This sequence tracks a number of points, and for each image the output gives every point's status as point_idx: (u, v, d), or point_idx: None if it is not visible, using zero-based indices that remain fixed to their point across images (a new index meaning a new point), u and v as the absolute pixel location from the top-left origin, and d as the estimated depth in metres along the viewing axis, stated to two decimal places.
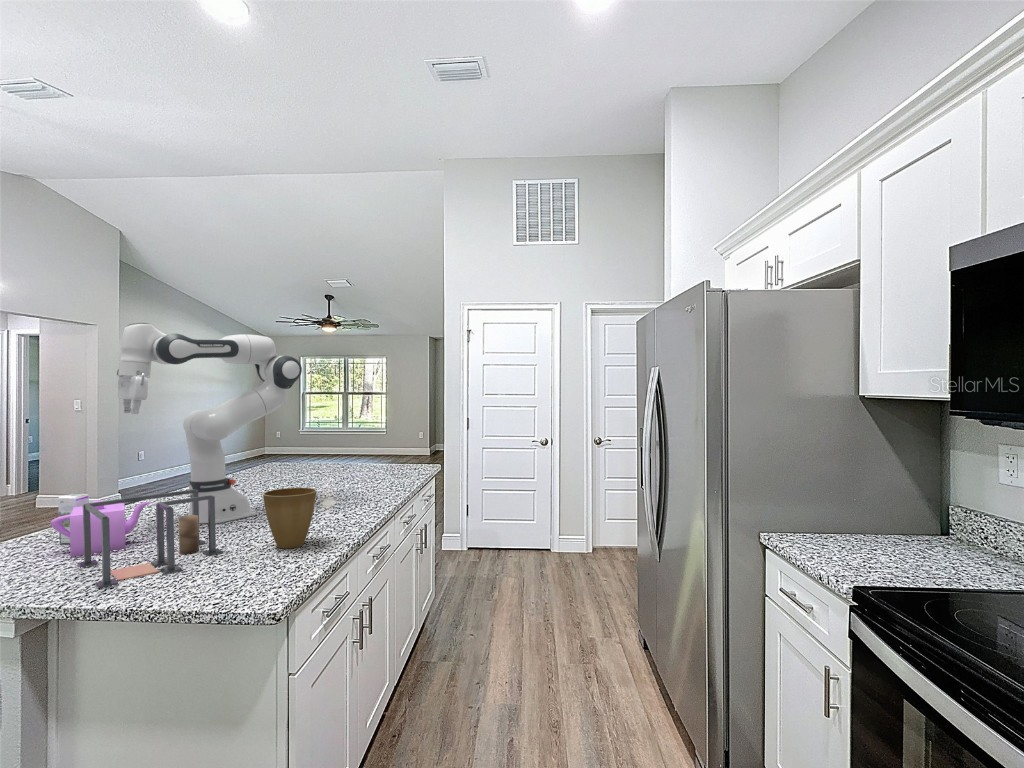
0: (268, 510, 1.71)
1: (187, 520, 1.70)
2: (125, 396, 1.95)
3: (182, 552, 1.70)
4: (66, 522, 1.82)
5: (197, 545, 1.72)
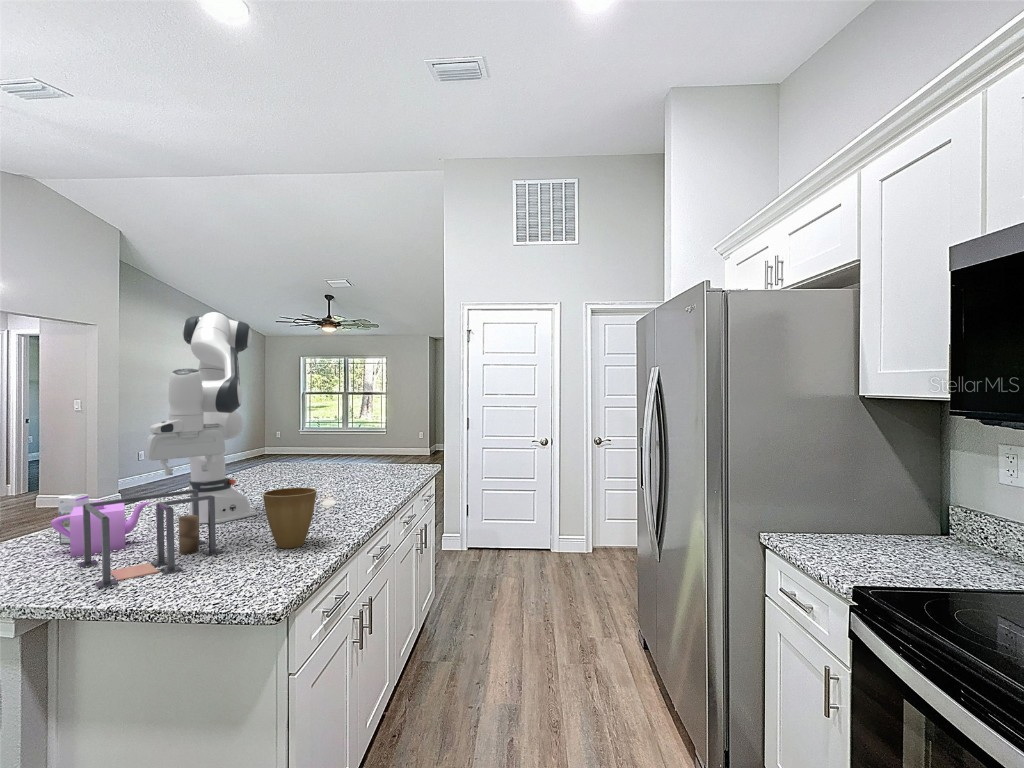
0: (268, 510, 1.71)
1: (187, 520, 1.70)
2: (187, 454, 1.70)
3: (182, 552, 1.70)
4: (66, 522, 1.82)
5: (197, 545, 1.72)
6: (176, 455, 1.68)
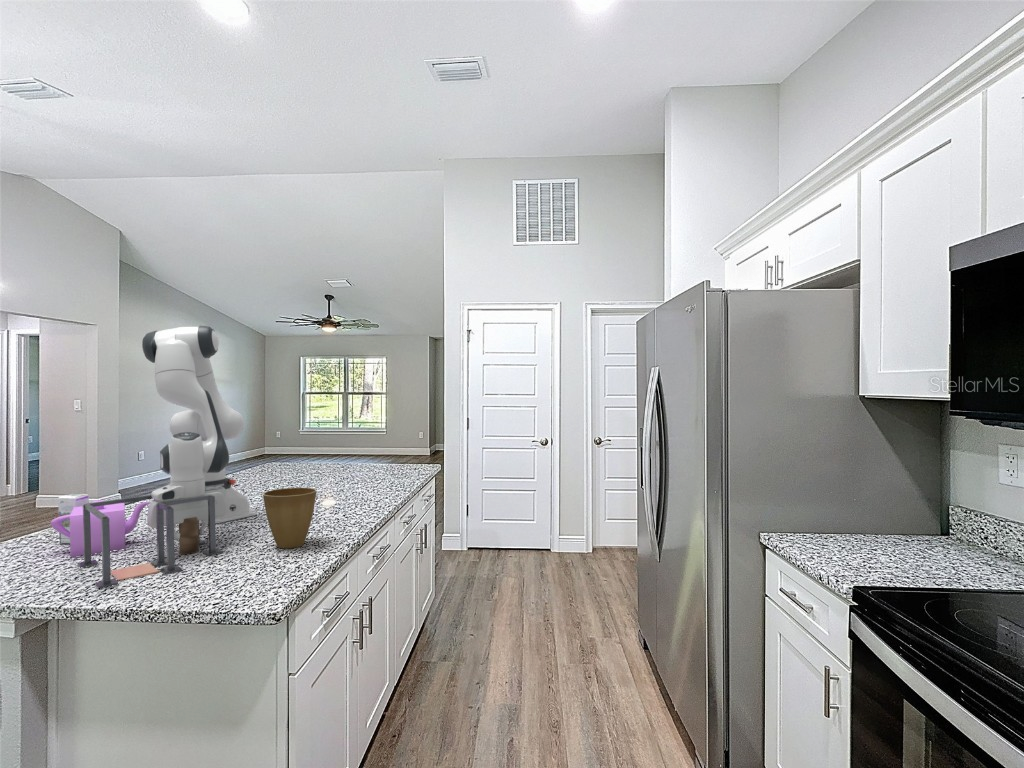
0: (268, 510, 1.71)
1: (187, 520, 1.70)
2: None
3: (182, 552, 1.70)
4: (66, 522, 1.82)
5: (197, 545, 1.72)
6: (177, 521, 1.69)
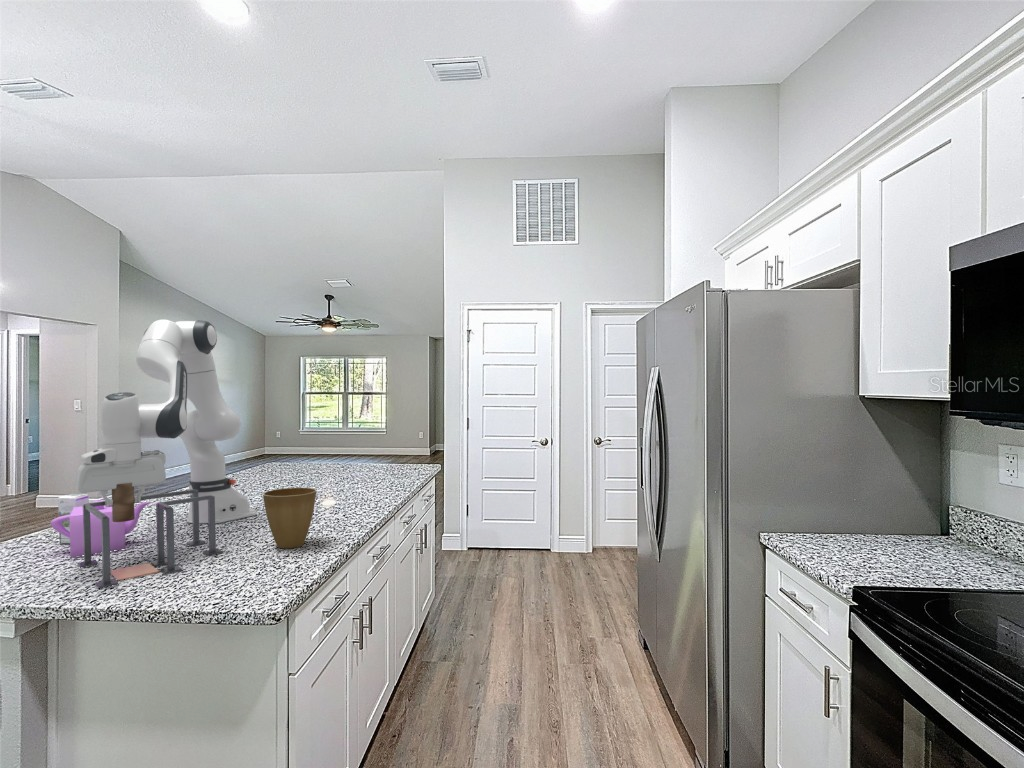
0: (268, 510, 1.71)
1: (121, 486, 1.58)
2: None
3: (115, 520, 1.58)
4: (66, 522, 1.82)
5: (132, 513, 1.61)
6: (109, 486, 1.57)
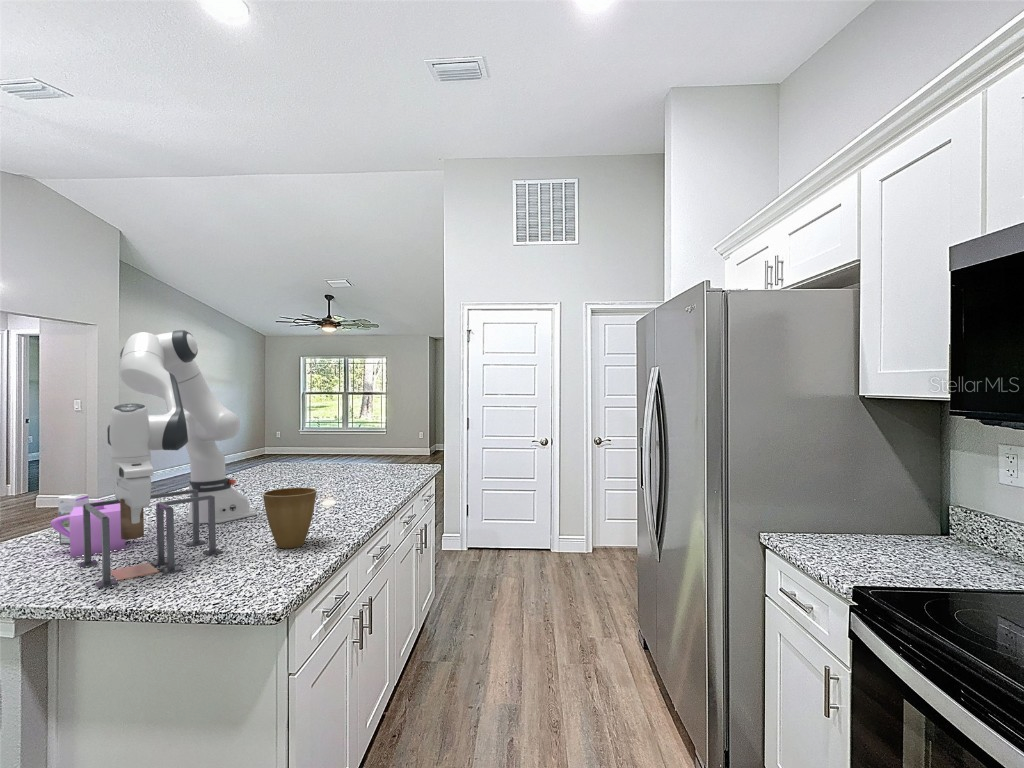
0: (268, 510, 1.71)
1: None
2: None
3: (140, 535, 1.53)
4: (66, 522, 1.82)
5: None
6: None
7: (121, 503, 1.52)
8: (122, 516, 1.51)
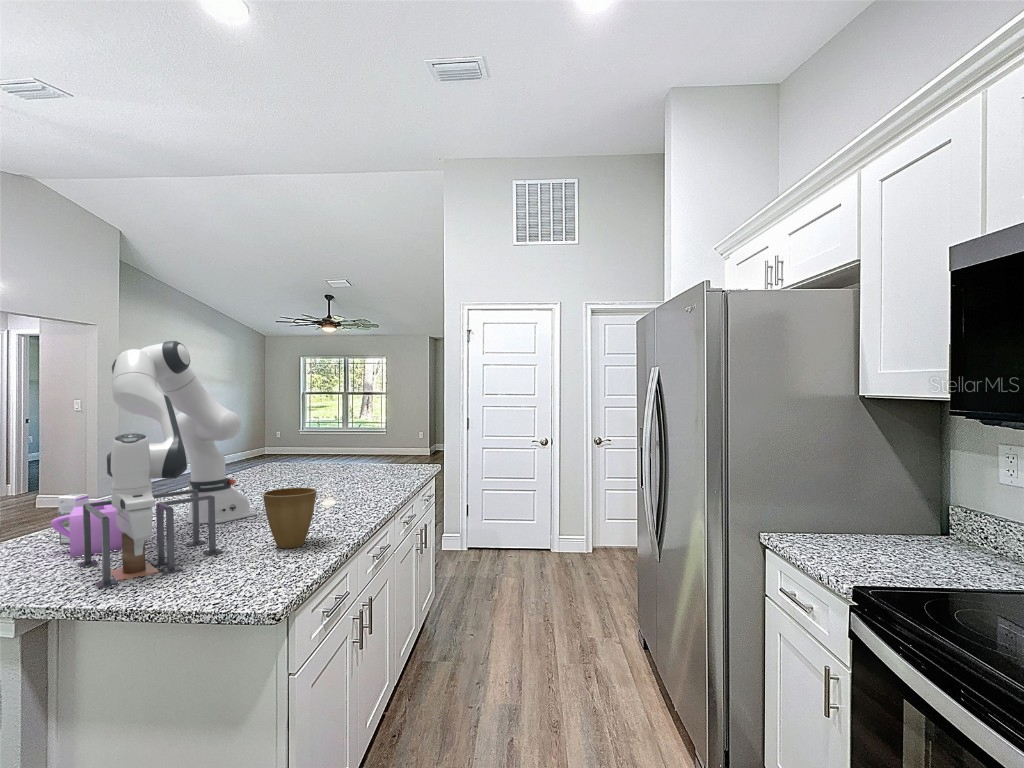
0: (268, 510, 1.71)
1: None
2: None
3: (142, 569, 1.53)
4: (66, 522, 1.82)
5: None
6: None
7: (122, 537, 1.52)
8: (124, 551, 1.52)
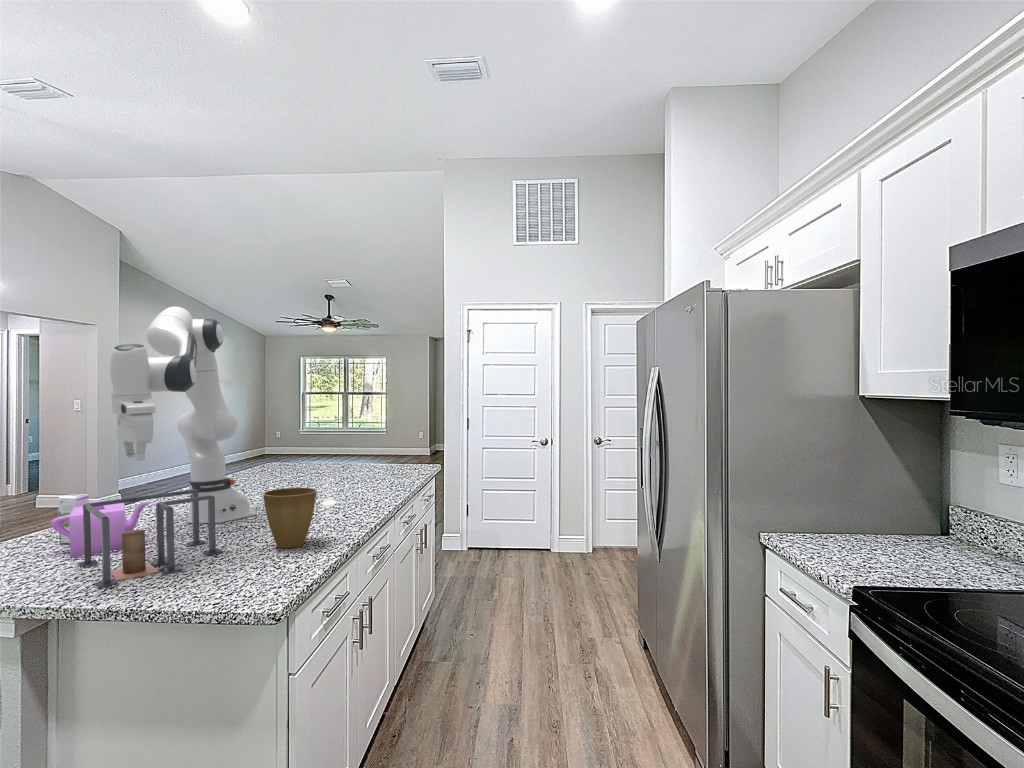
0: (268, 510, 1.72)
1: (144, 532, 1.55)
2: None
3: (142, 569, 1.53)
4: (66, 522, 1.82)
5: None
6: None
7: (123, 537, 1.52)
8: (124, 551, 1.52)
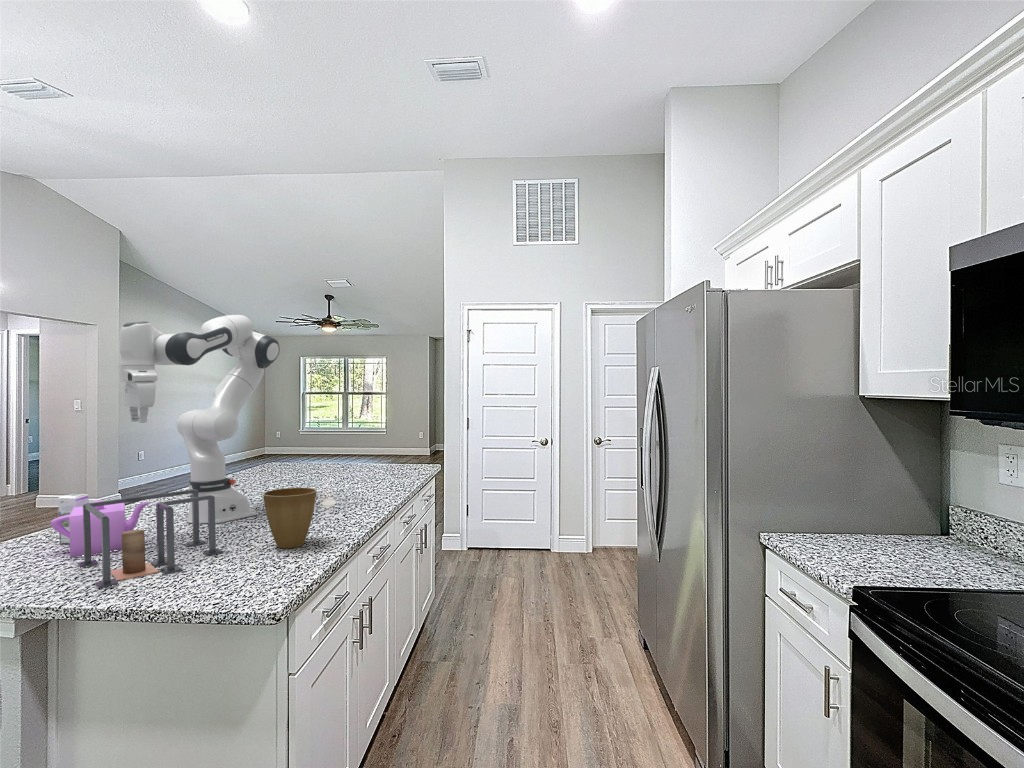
0: (268, 510, 1.71)
1: None
2: None
3: (142, 569, 1.53)
4: (66, 522, 1.82)
5: None
6: None
7: (122, 538, 1.52)
8: (124, 551, 1.52)
